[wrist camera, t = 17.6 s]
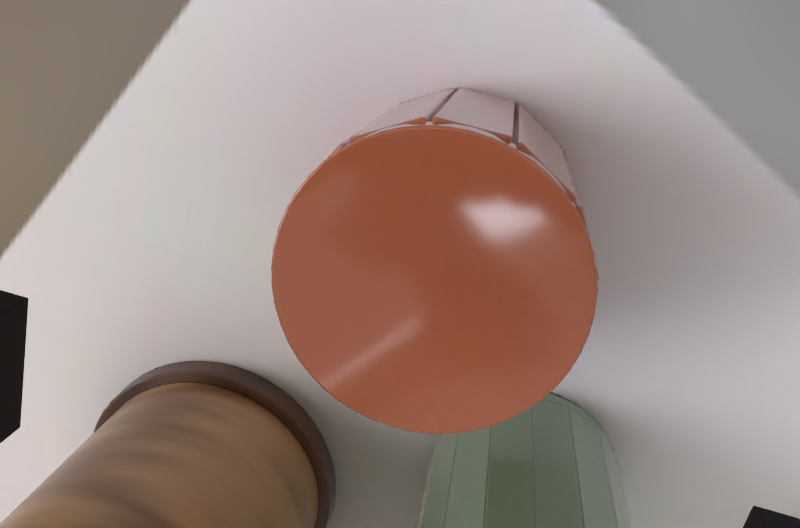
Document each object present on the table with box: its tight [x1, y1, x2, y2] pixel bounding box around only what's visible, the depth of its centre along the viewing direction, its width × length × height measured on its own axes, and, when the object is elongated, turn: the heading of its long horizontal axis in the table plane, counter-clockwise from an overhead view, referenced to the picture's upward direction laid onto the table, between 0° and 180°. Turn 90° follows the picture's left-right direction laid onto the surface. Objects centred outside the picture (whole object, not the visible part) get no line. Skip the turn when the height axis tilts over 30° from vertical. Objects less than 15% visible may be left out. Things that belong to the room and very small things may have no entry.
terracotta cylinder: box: [271, 88, 599, 434], centre depth 25 cm, size 9×9×10 cm
